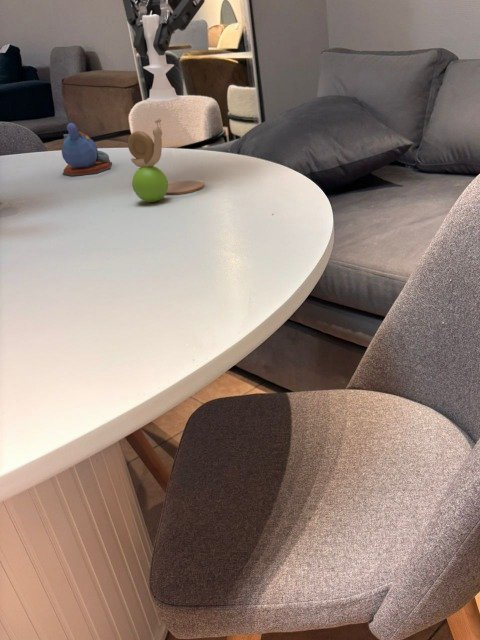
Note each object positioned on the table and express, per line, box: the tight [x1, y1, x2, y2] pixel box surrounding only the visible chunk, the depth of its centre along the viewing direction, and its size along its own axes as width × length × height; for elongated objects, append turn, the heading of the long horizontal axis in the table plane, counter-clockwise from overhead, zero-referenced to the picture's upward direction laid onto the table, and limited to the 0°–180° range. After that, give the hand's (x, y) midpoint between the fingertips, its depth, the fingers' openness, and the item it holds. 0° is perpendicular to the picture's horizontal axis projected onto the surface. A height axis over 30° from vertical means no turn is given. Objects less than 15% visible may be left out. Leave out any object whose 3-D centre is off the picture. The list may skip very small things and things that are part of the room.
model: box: [61, 122, 113, 177], centre depth 126 cm, size 12×9×9 cm
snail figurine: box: [127, 118, 169, 203], centre depth 97 cm, size 5×6×12 cm
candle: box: [142, 11, 181, 103], centre depth 97 cm, size 5×5×12 cm
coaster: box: [165, 180, 205, 196], centre depth 107 cm, size 8×8×1 cm
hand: (149, 51), depth 95 cm, fingers closed on candle, 2 cm apart
